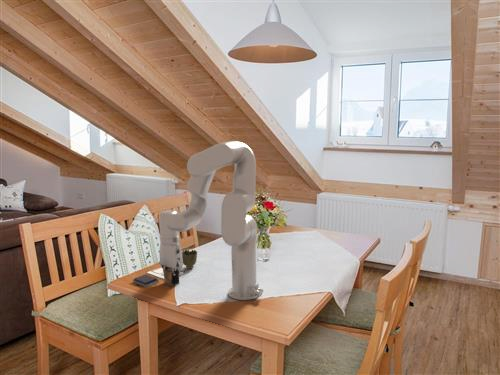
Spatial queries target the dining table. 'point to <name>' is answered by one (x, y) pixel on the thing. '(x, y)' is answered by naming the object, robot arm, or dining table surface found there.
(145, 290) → the dining table surface
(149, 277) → the ink pad
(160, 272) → the sheet
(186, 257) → the carved brown lampshade
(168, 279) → the stamp
